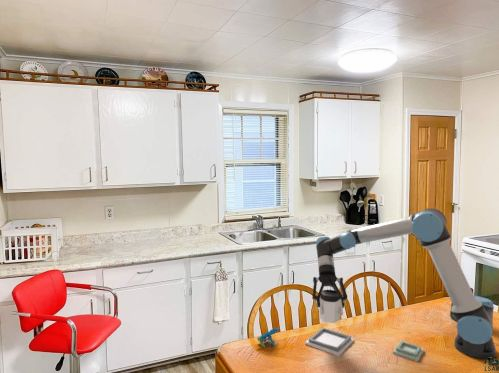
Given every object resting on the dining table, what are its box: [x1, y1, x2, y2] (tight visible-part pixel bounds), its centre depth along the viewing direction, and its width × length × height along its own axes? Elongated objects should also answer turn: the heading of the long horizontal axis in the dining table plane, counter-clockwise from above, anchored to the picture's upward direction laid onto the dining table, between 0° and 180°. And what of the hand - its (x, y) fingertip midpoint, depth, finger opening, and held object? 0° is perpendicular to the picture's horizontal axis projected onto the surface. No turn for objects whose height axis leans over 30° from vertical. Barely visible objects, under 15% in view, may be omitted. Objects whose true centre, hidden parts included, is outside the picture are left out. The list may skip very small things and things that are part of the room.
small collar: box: [392, 340, 425, 362], centre depth 154 cm, size 10×10×2 cm
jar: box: [318, 289, 341, 324], centre depth 161 cm, size 9×8×12 cm
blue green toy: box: [256, 327, 279, 349], centre depth 160 cm, size 11×6×10 cm
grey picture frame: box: [305, 327, 355, 357], centre depth 162 cm, size 16×16×2 cm
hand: (331, 314), depth 158 cm, fingers closed on jar, 8 cm apart
